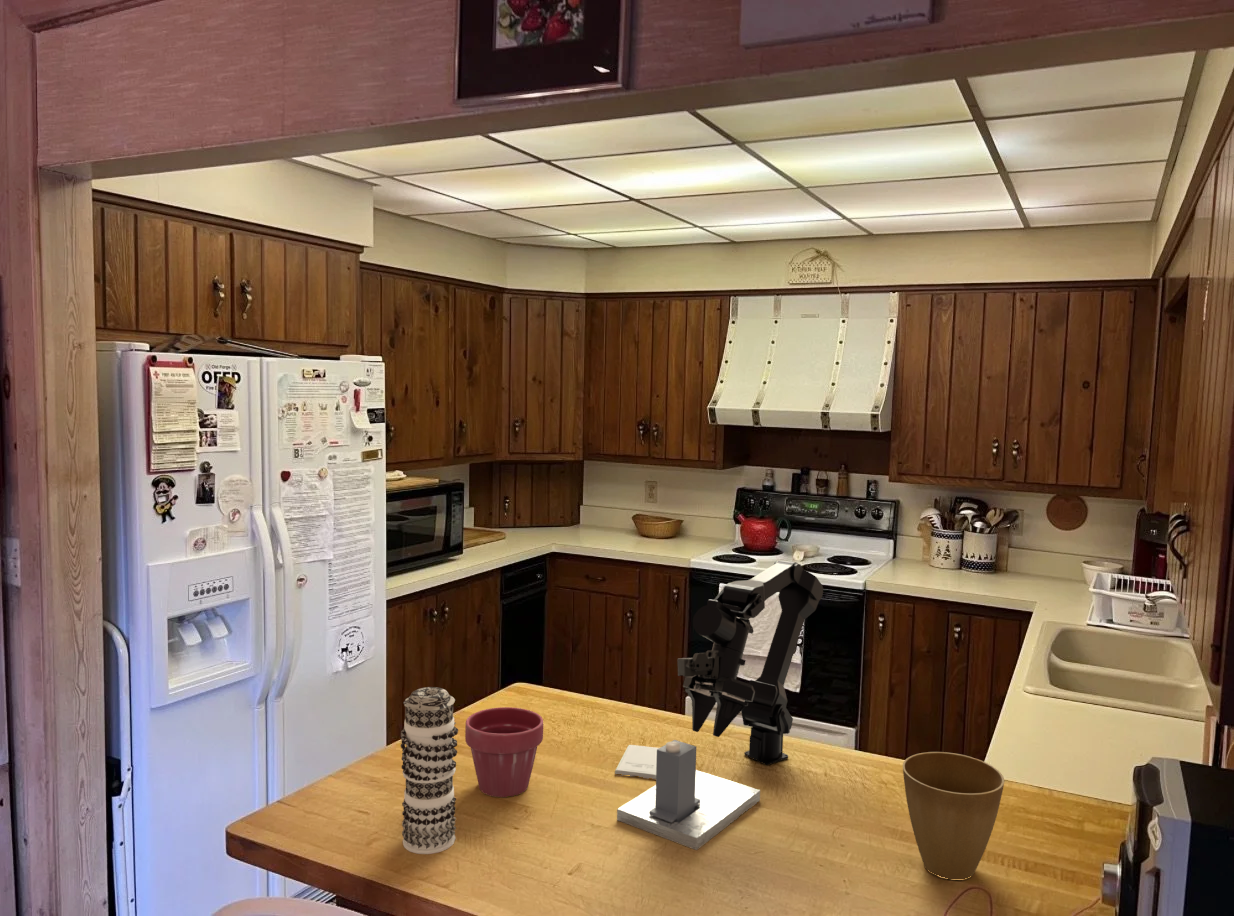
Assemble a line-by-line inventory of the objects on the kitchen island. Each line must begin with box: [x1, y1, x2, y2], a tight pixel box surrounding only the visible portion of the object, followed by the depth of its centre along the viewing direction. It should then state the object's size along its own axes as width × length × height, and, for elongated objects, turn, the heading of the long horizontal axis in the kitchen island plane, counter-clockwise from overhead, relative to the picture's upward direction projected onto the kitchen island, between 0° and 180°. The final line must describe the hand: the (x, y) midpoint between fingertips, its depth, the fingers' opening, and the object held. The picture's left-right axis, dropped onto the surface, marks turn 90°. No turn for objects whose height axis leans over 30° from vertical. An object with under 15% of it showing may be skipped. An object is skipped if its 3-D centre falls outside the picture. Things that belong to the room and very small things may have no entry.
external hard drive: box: [614, 744, 660, 780], centre depth 180 cm, size 2×8×12 cm
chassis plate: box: [616, 769, 761, 851], centre depth 161 cm, size 22×16×2 cm
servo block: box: [649, 739, 700, 823], centre depth 156 cm, size 9×4×14 cm, turn 143°
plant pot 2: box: [902, 751, 1005, 879], centre depth 143 cm, size 15×15×16 cm
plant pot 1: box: [464, 706, 544, 798], centre depth 168 cm, size 14×14×13 cm
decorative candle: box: [400, 686, 459, 855], centre depth 148 cm, size 9×9×25 cm
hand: (705, 733), depth 165 cm, fingers open, 9 cm apart
